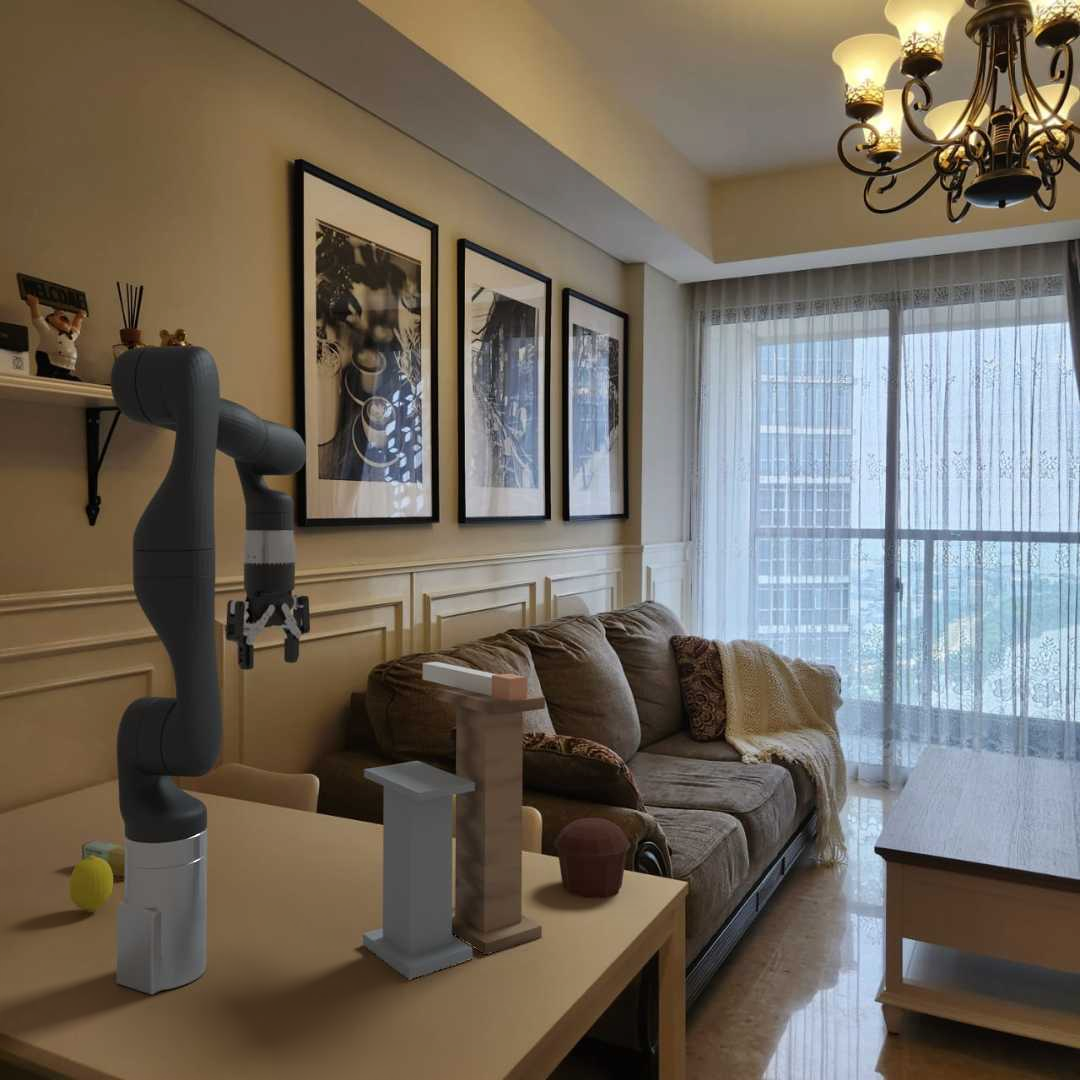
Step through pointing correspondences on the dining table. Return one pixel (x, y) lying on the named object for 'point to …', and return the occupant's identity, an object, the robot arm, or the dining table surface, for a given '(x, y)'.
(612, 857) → the muffin
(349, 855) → the dining table surface
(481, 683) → the white square bar
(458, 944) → the grey pedestal column
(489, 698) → the tall tower
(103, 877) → the lemon
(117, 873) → the medication box
